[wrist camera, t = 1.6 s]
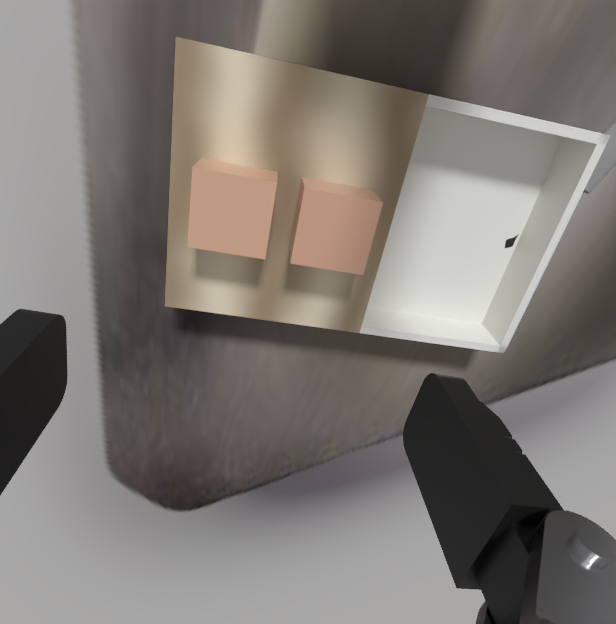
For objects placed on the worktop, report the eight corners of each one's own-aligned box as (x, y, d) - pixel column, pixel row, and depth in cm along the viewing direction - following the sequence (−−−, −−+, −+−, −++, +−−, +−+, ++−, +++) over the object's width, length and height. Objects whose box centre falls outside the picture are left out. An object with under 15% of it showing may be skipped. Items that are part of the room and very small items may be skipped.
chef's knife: (736, 45, 28) (718, 11, 27) (754, 45, 27) (735, 9, 26) (512, 264, 34) (489, 244, 33) (519, 270, 33) (496, 249, 32)
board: (410, 92, 27) (429, 94, 24) (351, 307, 35) (359, 333, 31) (190, 43, 25) (175, 36, 22) (177, 282, 33) (164, 306, 29)
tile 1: (277, 172, 25) (277, 182, 23) (266, 242, 28) (265, 259, 25) (201, 157, 25) (192, 166, 22) (196, 231, 27) (187, 247, 24)
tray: (570, 129, 29) (610, 135, 26) (482, 327, 36) (504, 353, 33) (410, 92, 27) (429, 94, 24) (351, 307, 35) (359, 333, 31)
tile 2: (373, 190, 26) (383, 202, 24) (355, 257, 28) (363, 275, 26) (302, 176, 26) (304, 187, 23) (289, 246, 28) (290, 263, 25)
